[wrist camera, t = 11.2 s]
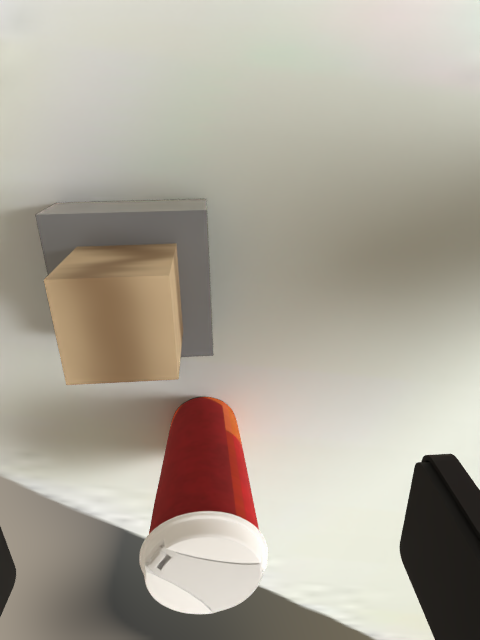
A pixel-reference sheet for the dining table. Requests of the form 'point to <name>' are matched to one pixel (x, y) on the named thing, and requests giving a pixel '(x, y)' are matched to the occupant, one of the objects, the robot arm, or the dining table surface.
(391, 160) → the dining table surface
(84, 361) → the oak cube
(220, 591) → the paper cup
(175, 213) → the slate pedestal
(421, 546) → the robot arm
